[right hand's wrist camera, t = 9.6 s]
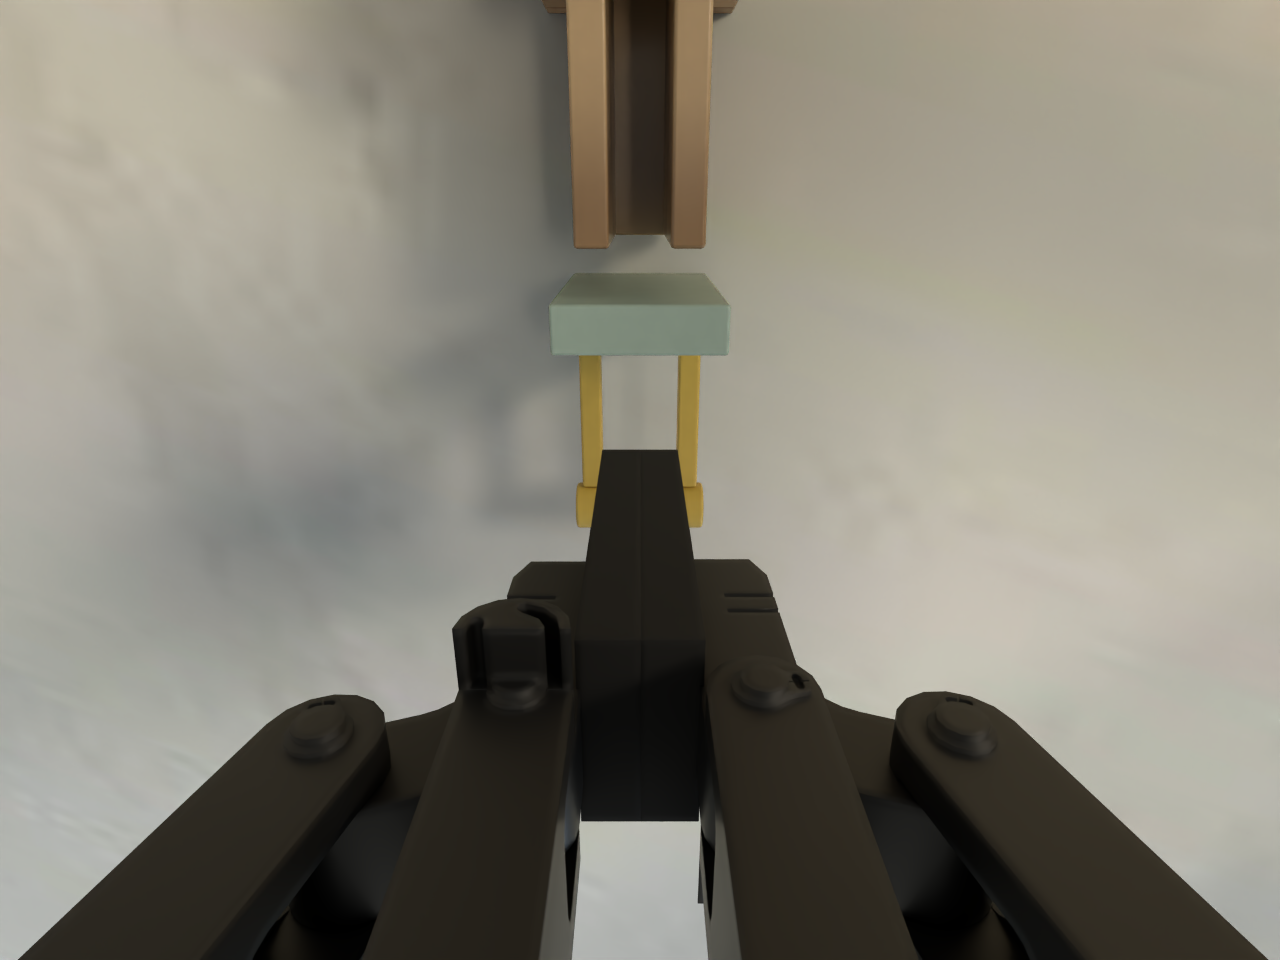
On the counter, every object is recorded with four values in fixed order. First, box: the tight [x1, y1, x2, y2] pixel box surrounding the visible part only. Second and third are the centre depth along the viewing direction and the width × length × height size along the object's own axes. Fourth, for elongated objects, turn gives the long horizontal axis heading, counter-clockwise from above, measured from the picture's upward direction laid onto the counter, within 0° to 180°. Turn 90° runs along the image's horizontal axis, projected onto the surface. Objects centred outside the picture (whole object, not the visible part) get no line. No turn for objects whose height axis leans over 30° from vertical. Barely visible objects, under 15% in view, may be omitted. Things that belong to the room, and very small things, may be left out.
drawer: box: [549, 0, 731, 528], centre depth 18 cm, size 25×4×7 cm, turn 0°
